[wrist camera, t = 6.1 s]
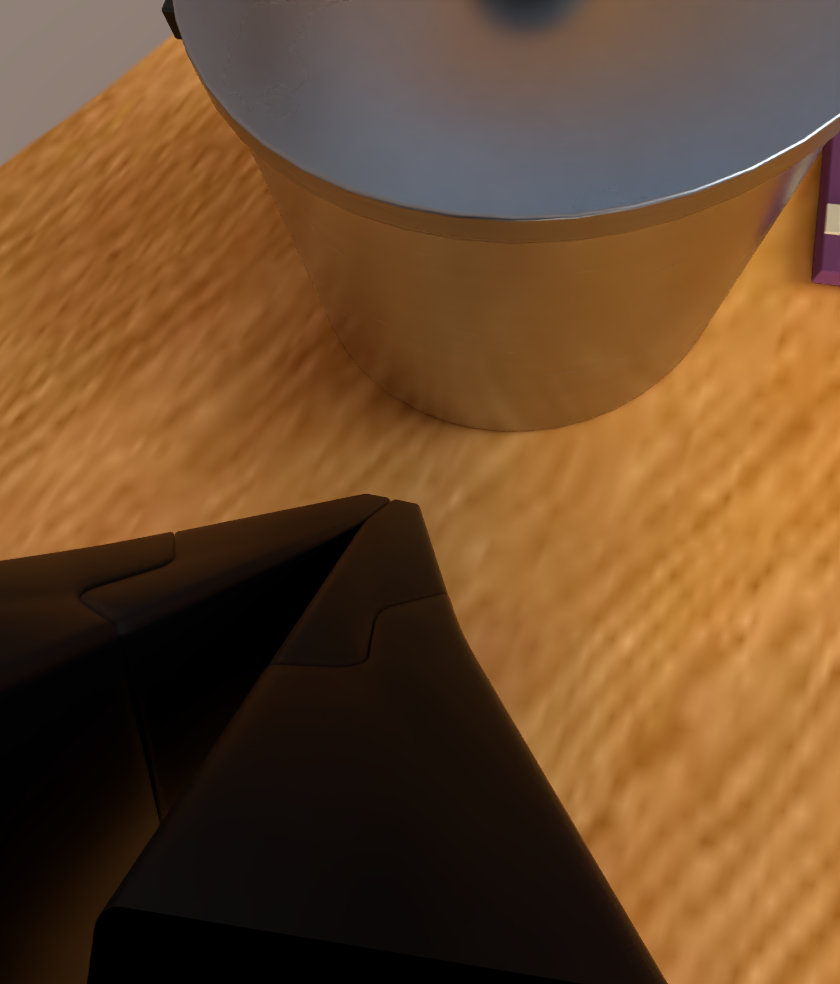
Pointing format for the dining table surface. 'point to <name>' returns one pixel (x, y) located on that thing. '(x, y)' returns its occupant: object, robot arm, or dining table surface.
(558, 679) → the dining table surface
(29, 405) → the dining table surface
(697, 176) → the steel pot
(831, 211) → the purple striped coaster
